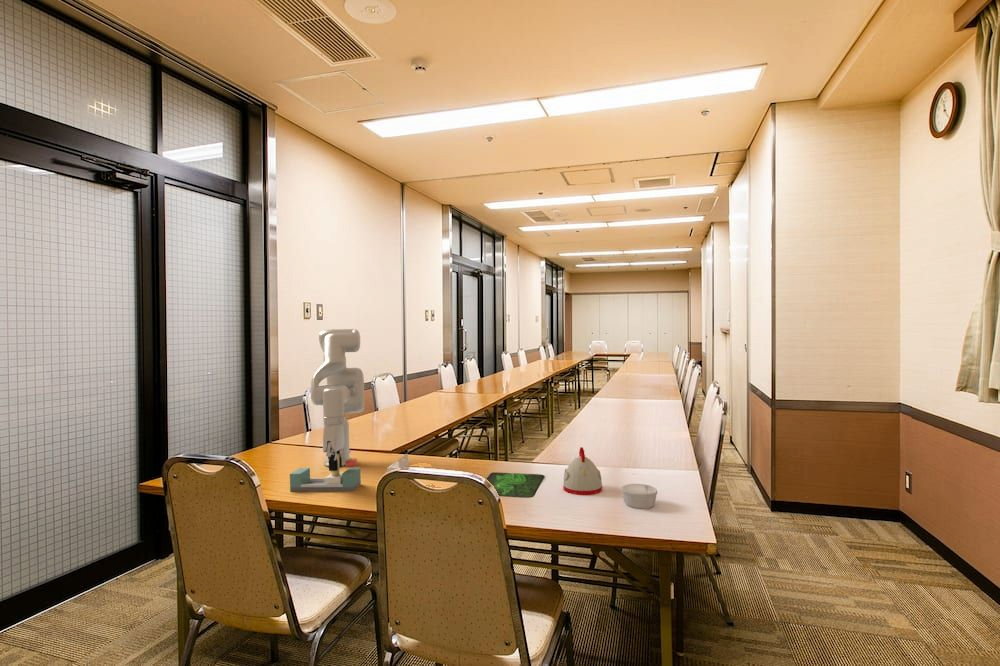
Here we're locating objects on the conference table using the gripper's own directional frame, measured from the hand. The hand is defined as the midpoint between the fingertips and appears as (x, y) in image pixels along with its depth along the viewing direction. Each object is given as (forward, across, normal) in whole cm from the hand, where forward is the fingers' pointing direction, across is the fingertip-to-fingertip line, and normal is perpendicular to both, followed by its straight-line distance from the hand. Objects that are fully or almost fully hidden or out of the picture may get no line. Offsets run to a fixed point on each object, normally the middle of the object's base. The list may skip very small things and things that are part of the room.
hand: (335, 468), depth 192 cm
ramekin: (+8, +18, +109) cm, 111 cm away
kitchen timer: (+8, +2, +92) cm, 93 cm away
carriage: (+6, 0, 0) cm, 6 cm away
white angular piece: (+8, +11, +27) cm, 30 cm away
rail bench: (+7, 0, -4) cm, 8 cm away
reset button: (-1, 0, +6) cm, 6 cm away
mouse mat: (+8, -4, +66) cm, 66 cm away
